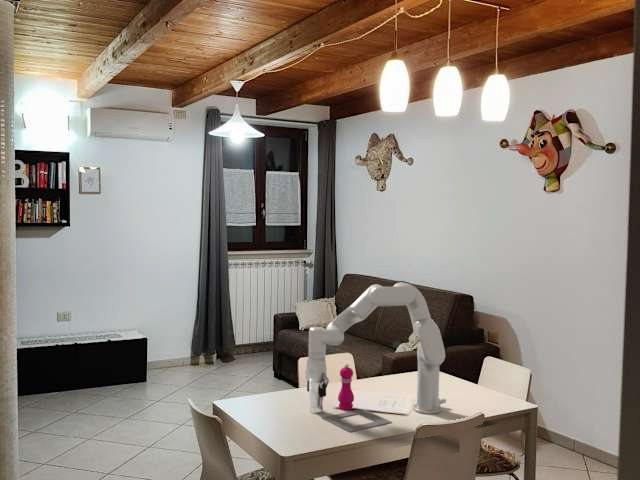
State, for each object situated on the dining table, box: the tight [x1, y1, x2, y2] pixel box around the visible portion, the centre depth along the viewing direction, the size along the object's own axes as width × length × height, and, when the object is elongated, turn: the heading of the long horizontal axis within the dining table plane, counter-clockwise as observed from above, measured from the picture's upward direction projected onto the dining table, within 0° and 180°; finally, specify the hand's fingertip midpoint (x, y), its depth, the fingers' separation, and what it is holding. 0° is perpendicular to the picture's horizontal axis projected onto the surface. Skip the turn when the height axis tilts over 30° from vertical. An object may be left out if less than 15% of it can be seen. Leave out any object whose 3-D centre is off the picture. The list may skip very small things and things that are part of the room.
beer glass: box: [308, 378, 324, 414], centre depth 283 cm, size 7×7×15 cm
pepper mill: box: [337, 363, 355, 411], centre depth 288 cm, size 7×7×20 cm
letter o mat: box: [321, 408, 393, 433], centre depth 272 cm, size 22×20×1 cm
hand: (316, 393), depth 283 cm, fingers open, 9 cm apart
